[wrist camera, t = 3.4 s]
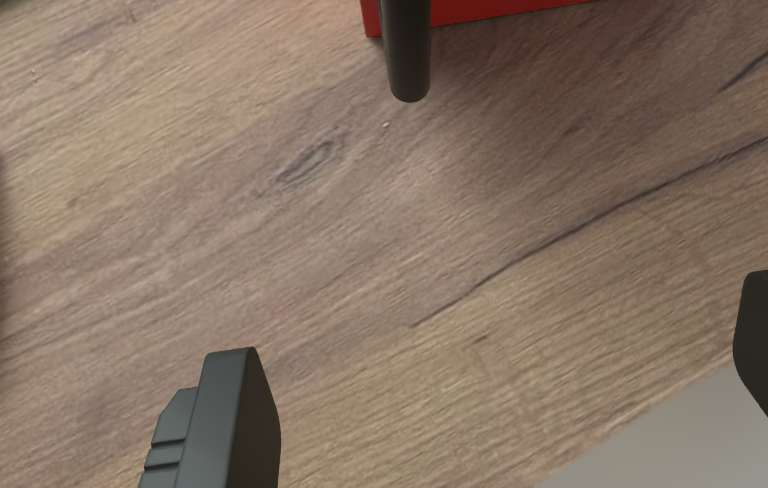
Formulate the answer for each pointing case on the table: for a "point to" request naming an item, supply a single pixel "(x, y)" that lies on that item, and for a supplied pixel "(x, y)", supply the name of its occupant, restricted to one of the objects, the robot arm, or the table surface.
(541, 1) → the door
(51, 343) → the table surface
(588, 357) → the table surface
